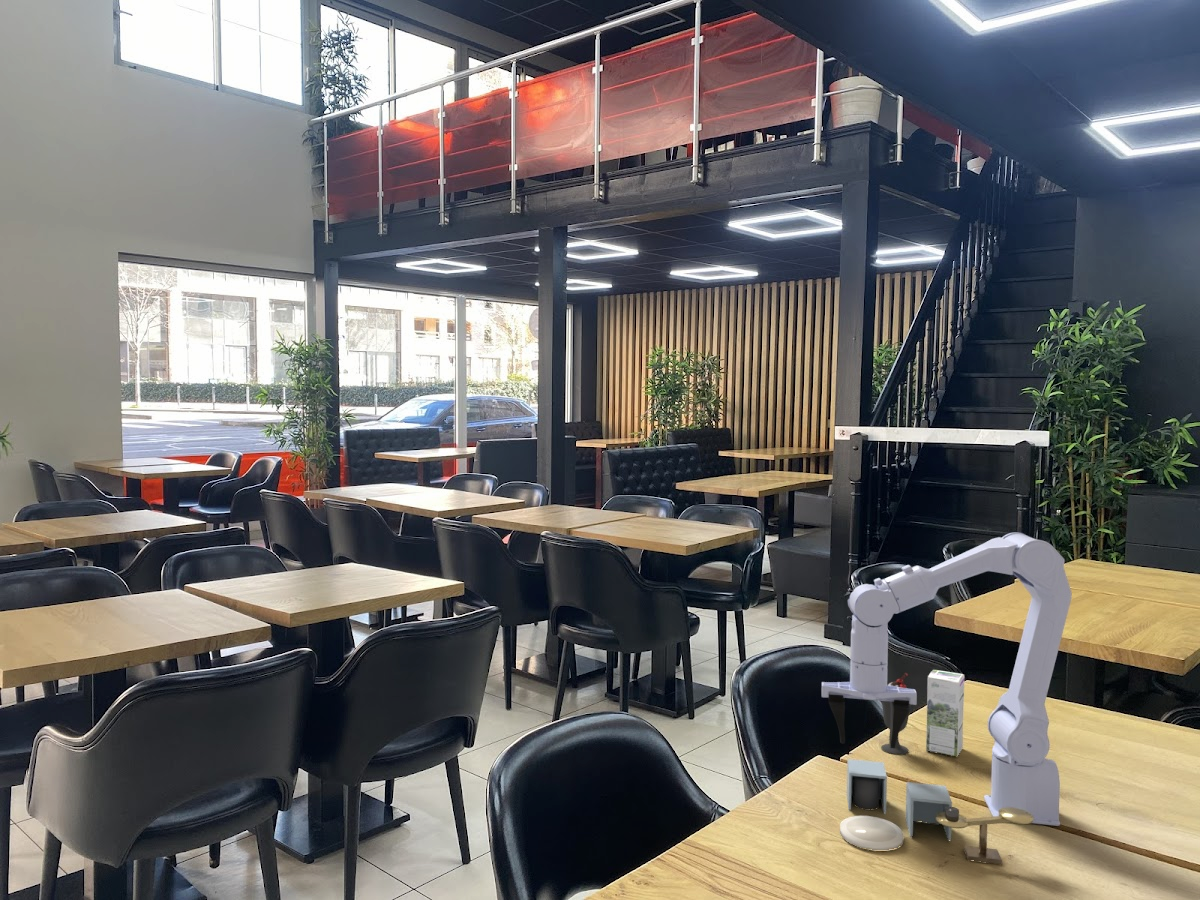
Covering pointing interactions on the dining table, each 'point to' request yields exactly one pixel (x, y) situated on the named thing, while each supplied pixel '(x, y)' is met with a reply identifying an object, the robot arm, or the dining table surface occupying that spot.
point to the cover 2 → (926, 804)
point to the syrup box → (945, 712)
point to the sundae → (887, 719)
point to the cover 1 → (866, 770)
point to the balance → (983, 829)
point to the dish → (871, 833)
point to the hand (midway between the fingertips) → (867, 743)
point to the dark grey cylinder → (866, 792)
